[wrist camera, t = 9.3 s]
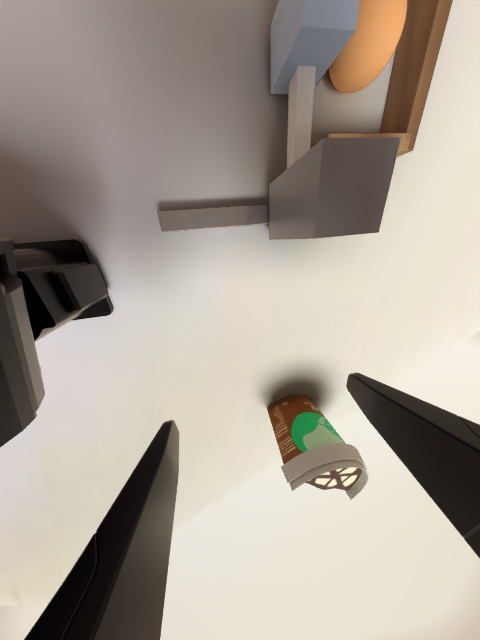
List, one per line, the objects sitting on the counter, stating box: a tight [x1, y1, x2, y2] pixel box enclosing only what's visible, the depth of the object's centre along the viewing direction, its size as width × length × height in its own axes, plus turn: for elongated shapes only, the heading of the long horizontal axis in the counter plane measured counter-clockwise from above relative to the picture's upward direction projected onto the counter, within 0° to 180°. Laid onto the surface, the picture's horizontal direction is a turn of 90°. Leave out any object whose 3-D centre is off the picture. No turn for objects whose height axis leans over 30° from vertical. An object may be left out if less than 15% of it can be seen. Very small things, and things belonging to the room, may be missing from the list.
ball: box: [329, 0, 407, 93], centre depth 11 cm, size 4×4×4 cm
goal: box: [324, 0, 453, 158], centre depth 12 cm, size 8×11×2 cm
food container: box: [267, 395, 369, 500], centre depth 24 cm, size 12×6×10 cm, turn 53°
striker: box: [269, 0, 401, 239], centre depth 10 cm, size 4×12×8 cm, turn 5°
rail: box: [157, 204, 269, 232], centre depth 15 cm, size 15×1×1 cm, turn 95°
